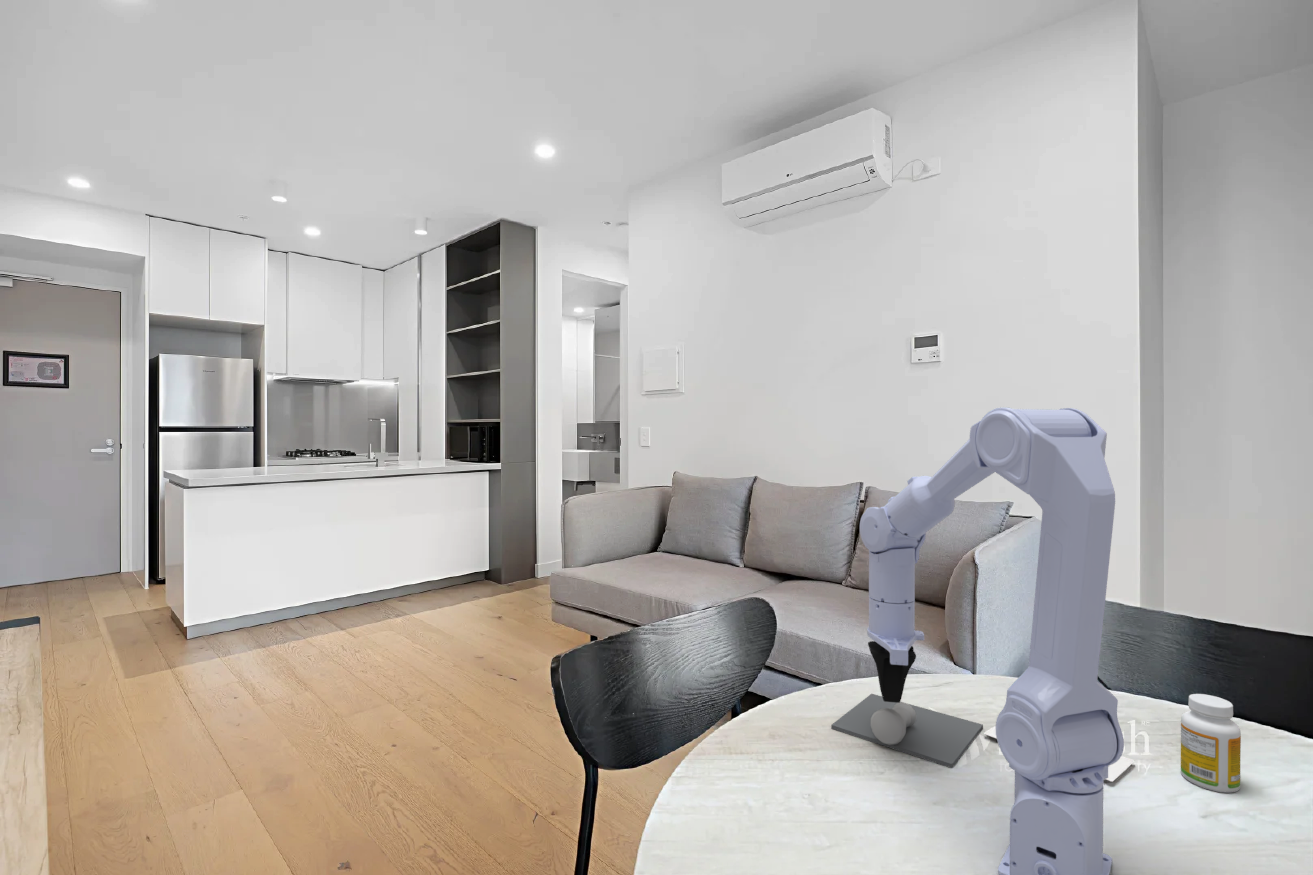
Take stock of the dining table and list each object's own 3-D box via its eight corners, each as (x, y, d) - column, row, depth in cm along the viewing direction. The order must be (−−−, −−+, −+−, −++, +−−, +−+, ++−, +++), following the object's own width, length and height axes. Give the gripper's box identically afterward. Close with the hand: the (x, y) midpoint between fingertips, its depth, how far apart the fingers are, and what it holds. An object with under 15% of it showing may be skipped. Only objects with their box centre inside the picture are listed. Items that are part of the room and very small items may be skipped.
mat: (952, 768, 79) (952, 764, 79) (831, 728, 90) (831, 724, 90) (982, 728, 90) (983, 724, 90) (871, 696, 100) (871, 693, 100)
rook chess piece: (873, 703, 85) (895, 690, 91) (865, 735, 85) (887, 719, 91) (906, 720, 82) (926, 705, 88) (898, 753, 82) (918, 735, 89)
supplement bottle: (1223, 772, 78) (1224, 693, 78) (1251, 797, 73) (1252, 712, 73) (1171, 766, 79) (1172, 688, 79) (1194, 790, 74) (1195, 706, 74)
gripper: (935, 615, 77) (934, 727, 77) (914, 586, 91) (913, 681, 91) (873, 611, 78) (872, 722, 79) (862, 583, 93) (861, 677, 93)
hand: (891, 700), depth 85 cm, fingers closed
